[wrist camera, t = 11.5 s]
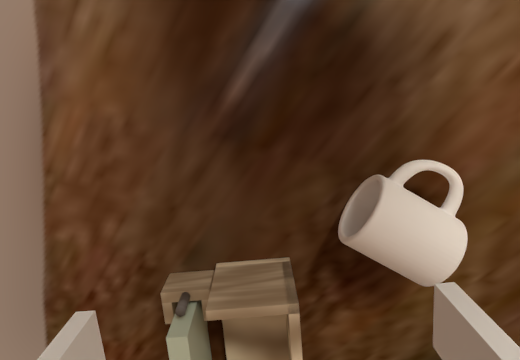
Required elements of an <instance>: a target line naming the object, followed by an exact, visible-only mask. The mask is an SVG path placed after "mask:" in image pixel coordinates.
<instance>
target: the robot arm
mask: <svg viewBox="0 0 520 360" xmlns="http://www.w3.org/2000/svg"><path fill="white" fill-rule="evenodd" d="M433 347H434V348H435V350H436V351H437V353H438V354H439V356H440V357H441V359H442V360H520V347H519V346H518V345H517V344H516V343H515V342H514V341H513V340H512V339H511V338H510V337H509V336H508V335H507V334H506V333H505V332H504V331H503V330H502V329H501V328H500V327H499V326H498V325H497V324H496V323H495V322H494V321H493V320H492V319H491V318H490V317H489V316H488V315H487V314H486V313H485V312H484V311H483V310H482V309H481V308H480V307H479V306H478V305H477V304H476V303H475V302H474V301H473V300H472V299H471V298H470V297H469V296H468V295H467V294H466V293H465V292H464V291H463V290H462V289H461V288H460V287H459V286H458V285H457V284H456V283H455V282H450V283H437V284H434V320H433ZM37 360H106V359H105V354H104V350H103V345H102V340H101V336H100V331H99V326H98V321H97V317H96V312H95V311H82V312H75V313H74V315H73V316H72V317H71V318H70V320H69V321H68V322H67V323H66V325H65V326H64V327H63V328H62V330H61V331H60V332H59V333H58V334H57V336H56V337H55V338H54V339H53V341H52V342H51V343H50V344H49V346H48V347H47V348H46V349H45V350H44V352H43V353H42V354H41V355H40V357H39V358H38V359H37Z"/></svg>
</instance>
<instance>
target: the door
mask: <svg viewBox="0 0 520 360" xmlns="http://www.w3.org/2000/svg"><path fill="white" fill-rule="evenodd" d="M166 342H167V348H168V354H169V360H212V356H211V349H210V341H209V333H208V325H207V321H204V317H203V309H202V301H201V300H197V301H189V303H188V306H187V309H186V312H185V315H184V316H182V317H179V316H177V315H176V314H175V315H174V318H173V320H172V323H171V326H170V329H169V331H168V334H167V337H166Z"/></svg>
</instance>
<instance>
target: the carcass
mask: <svg viewBox="0 0 520 360" xmlns="http://www.w3.org/2000/svg"><path fill="white" fill-rule="evenodd" d="M161 300H162V306H163V313H164V319H165V324H171V323H172V320H173V318H174V315H175V314H176V315H177V316H179V317H182V316H184V315H185V312H186V309H187V306H188V303H189V301H197V300H201V301H202V309H203V317H204V321H211V320H222V324H223V332H224V341H225V349H226V358H227V360H303V359H302V344H301V329H300V314H299V302H298V297H297V292H296V287H295V282H294V278H293V273H292V268H291V263H290V258H289V257H287V258H275V259H263V260H250V261H238V262H226V263H217V264H216V268H215V273H214V270H206V271H194V272H181V273H170V274H169V276H168V278H167V280H166V283H165V285H164V287H163V289H162V291H161Z"/></svg>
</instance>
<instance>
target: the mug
mask: <svg viewBox="0 0 520 360" xmlns="http://www.w3.org/2000/svg"><path fill="white" fill-rule="evenodd" d="M425 170H431V171H435V172H438V173H440V174H442V175H443V176H444V177H446V178H447V180H448V181H449V185H450V187H449V192H448V195H447V197H446V200H445V202H444V203H443V205H442V207H440V208H438V207H436V206H435V205H433V204H431V203H429V202H428V201H426V200H424V199H422V198H421V197H419V196H417V195H415V194H414V193H412V192H410V191H408V190H407V189H405V188H404V187H403V185H404V183H405V182H406V181H407V180H408V179H409V178H411V177H412V176H413V175H415V174H416V173H418V172H421V171H425ZM462 198H463V183H462V180H461V178H460V177H459V175H458V174H457V173H456V172H455V171H454V170H453V169H452V168H450V167H448V166H447V165H444V164H442V163H439V162H436V161H432V160H415V161H411V162H408V163H406V164H404V165H402V166H401V167H399V168H398V169H397V170H396V171H395V172H394V173H393V174H392V175H391V176H390V177H389V178H386V177H384V176H382V175H373V176H371V177H369V178H368V179H366V180H365V181H364V182H363V183H362V184H361V185H360V186H359V187H358V188H357V189H356V190H355V192H354V193H353V194H352V196H351V197H350V199H349V201H348V202H347V204H346V206H345V208H344V210H343V213H342V215H341V218H340V222H339V226H338V237H339V239H340V241H341V242H342V243H343V244H345V245H347V246H349V247H351V248H353V249H354V250H356V251H358V252H360V253H362V254H364V255H365V256H367V257H369V258H371V259H373V260H375V261H377V262H378V263H380V264H382V265H384V266H386V267H388V268H389V269H391V270H393V271H395V272H397V273H399V274H401V275H402V276H404V277H406V278H408V279H410V280H412V281H413V282H415V283H417V284H419V285H421V286H434V284H437V283H441V282H443V281H444V280H446V279H447V278H448V277H449V276H450V275H451V274H452V273H453V272H454V271H455V270H456V268H457V267H458V266H459V264H460V262H461V260H462V259H463V256H464V254H465V251H466V247H467V231H466V228H465V226H464V224H463V223H462V222H461V221H460V220H459V219H457V218H455V214H456V212H457V211H458V209H459V206H460V204H461V201H462Z"/></svg>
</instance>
